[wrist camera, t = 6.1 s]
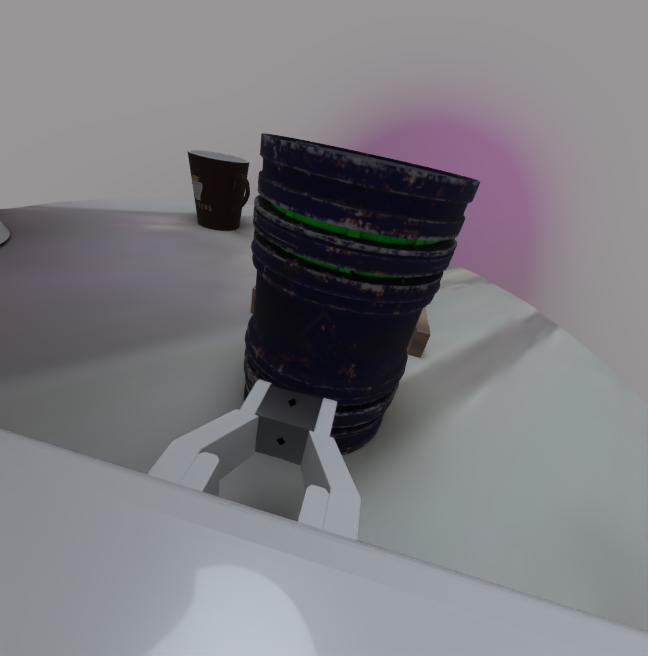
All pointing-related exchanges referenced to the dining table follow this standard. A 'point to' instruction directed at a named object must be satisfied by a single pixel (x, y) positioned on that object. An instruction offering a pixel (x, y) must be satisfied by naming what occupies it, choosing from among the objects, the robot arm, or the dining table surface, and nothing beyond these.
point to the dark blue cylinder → (345, 273)
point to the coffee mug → (219, 188)
